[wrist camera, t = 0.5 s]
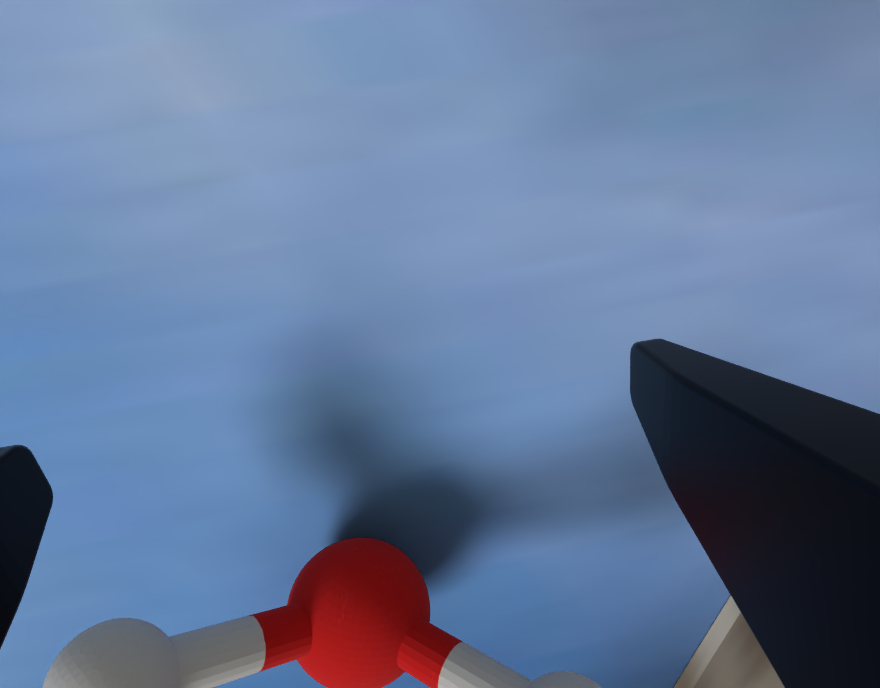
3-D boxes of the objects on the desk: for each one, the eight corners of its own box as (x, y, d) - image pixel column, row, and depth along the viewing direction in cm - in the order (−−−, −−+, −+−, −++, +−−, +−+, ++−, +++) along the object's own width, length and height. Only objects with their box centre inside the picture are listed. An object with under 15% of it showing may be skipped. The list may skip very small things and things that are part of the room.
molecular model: (570, 512, 27) (663, 693, 17) (554, 629, 28) (632, 857, 19) (152, 496, 26) (2, 683, 16) (157, 620, 27) (22, 860, 17)
